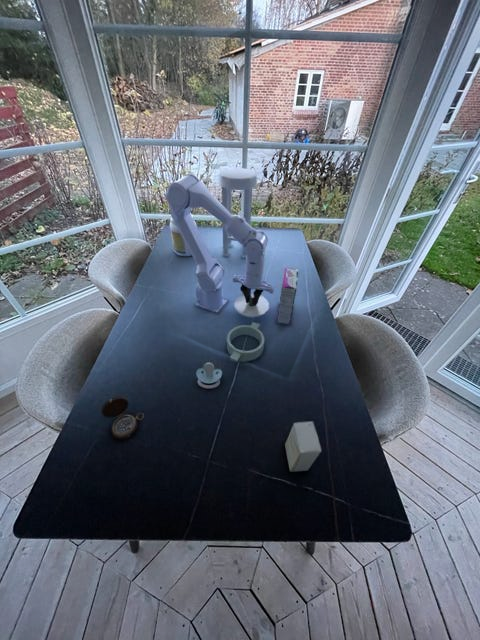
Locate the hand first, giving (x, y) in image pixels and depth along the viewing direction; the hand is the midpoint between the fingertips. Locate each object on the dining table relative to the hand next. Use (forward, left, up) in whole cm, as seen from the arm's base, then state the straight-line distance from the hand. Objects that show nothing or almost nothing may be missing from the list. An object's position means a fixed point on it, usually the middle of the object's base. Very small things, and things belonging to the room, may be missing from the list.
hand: (251, 302), depth 94 cm
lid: (0, 0, -1) cm, 1 cm away
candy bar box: (+11, +5, -5) cm, 13 cm away
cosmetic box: (+30, -41, -5) cm, 51 cm away
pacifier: (+1, -32, -5) cm, 32 cm away
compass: (-11, -52, -5) cm, 53 cm away
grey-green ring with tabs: (+5, -16, -5) cm, 17 cm away
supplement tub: (-47, +27, -5) cm, 54 cm away
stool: (-25, +38, -5) cm, 46 cm away
